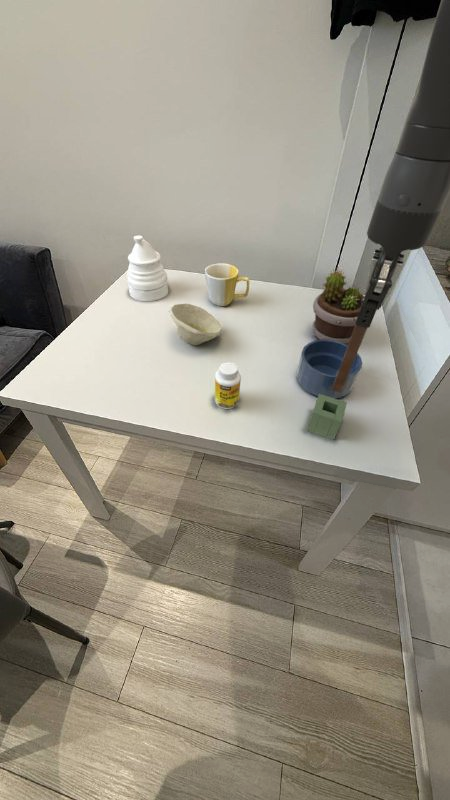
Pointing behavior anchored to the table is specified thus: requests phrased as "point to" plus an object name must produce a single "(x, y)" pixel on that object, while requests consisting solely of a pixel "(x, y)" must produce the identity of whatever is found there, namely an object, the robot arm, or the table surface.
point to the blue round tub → (325, 368)
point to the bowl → (195, 323)
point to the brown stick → (349, 357)
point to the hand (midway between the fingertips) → (363, 321)
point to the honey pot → (146, 272)
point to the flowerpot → (336, 309)
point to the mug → (223, 283)
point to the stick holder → (327, 416)
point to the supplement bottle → (227, 385)
